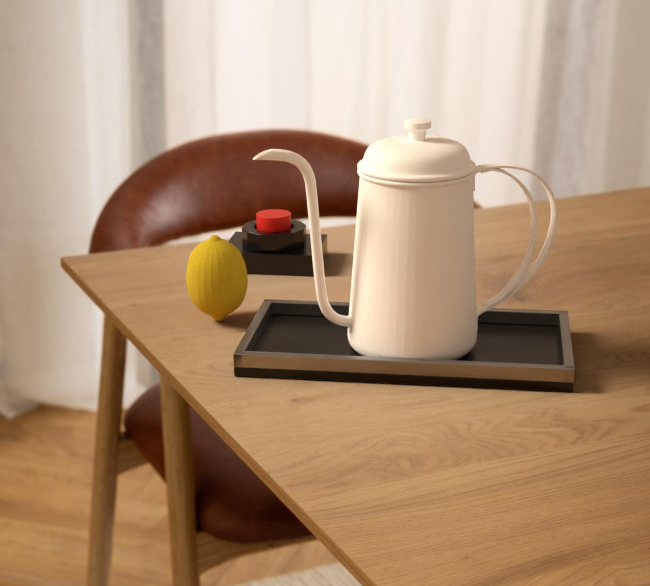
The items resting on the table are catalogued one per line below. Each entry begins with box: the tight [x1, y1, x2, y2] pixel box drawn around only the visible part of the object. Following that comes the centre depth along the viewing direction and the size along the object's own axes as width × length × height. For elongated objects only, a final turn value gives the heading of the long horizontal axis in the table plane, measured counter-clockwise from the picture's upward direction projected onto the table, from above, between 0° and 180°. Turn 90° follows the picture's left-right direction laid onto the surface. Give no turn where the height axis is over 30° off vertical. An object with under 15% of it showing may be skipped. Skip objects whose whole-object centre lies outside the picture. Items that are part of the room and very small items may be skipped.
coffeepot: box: [252, 117, 559, 360], centre depth 96 cm, size 11×25×19 cm, turn 102°
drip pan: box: [232, 298, 576, 393], centre depth 101 cm, size 27×14×2 cm, turn 82°
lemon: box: [185, 234, 249, 322], centre depth 107 cm, size 6×6×8 cm
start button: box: [255, 208, 292, 232], centre depth 122 cm, size 4×4×2 cm
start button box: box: [228, 218, 328, 278], centre depth 123 cm, size 10×8×4 cm
